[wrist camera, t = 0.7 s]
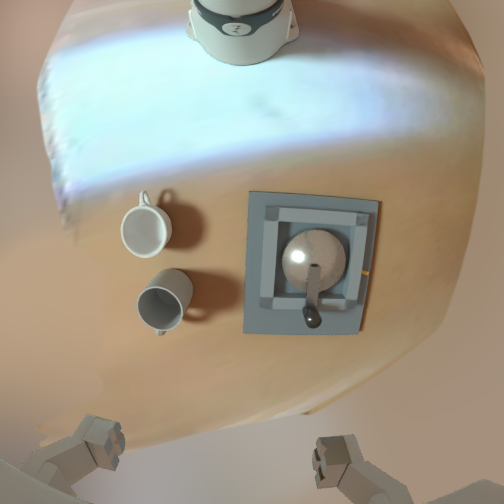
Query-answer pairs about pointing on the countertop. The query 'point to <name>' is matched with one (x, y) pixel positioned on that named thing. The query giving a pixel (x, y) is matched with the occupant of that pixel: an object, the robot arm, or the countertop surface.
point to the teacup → (146, 229)
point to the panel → (272, 275)
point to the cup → (165, 300)
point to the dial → (313, 266)
